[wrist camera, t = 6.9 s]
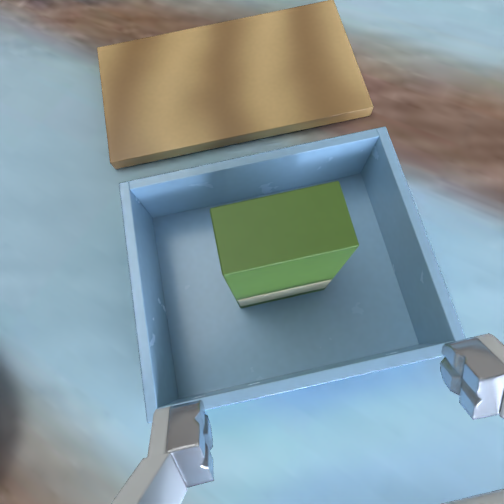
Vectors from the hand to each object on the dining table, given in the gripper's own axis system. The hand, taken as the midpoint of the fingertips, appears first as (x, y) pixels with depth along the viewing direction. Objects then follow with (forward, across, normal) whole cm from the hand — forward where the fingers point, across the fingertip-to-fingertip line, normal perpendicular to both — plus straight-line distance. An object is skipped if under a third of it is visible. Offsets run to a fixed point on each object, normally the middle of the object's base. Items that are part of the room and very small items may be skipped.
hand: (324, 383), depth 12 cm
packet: (+12, 0, +3) cm, 12 cm away
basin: (+12, 0, +4) cm, 13 cm away
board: (+24, 0, -8) cm, 25 cm away
